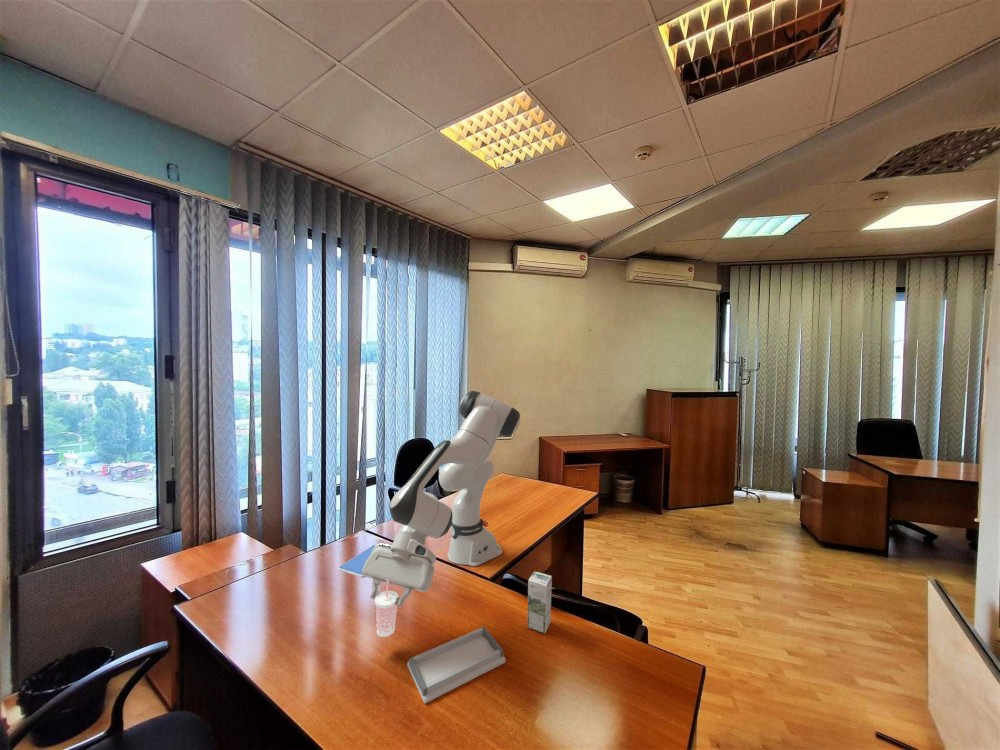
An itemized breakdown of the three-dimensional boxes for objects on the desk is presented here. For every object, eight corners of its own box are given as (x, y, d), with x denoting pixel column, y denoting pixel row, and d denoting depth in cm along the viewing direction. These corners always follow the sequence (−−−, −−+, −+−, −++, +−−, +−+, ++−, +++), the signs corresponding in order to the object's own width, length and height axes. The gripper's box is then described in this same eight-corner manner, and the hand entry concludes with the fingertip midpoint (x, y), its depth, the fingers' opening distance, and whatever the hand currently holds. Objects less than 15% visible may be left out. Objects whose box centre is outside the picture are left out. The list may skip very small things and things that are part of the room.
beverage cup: (396, 638, 93) (398, 585, 93) (371, 640, 92) (373, 587, 92) (398, 621, 99) (400, 571, 99) (375, 622, 98) (377, 573, 98)
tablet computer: (362, 579, 128) (362, 575, 127) (336, 571, 132) (336, 567, 132) (397, 553, 145) (397, 550, 145) (373, 547, 150) (373, 544, 150)
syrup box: (551, 622, 108) (552, 574, 108) (545, 635, 103) (546, 585, 102) (533, 616, 110) (534, 569, 110) (526, 628, 105) (527, 579, 105)
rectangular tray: (482, 632, 103) (482, 624, 103) (505, 662, 93) (505, 652, 93) (407, 665, 91) (407, 656, 91) (424, 703, 81) (424, 693, 81)
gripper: (372, 537, 105) (347, 590, 96) (434, 551, 98) (414, 609, 89) (381, 545, 109) (358, 596, 100) (441, 559, 103) (423, 614, 94)
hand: (385, 602), depth 95 cm, fingers closed on beverage cup, 6 cm apart
